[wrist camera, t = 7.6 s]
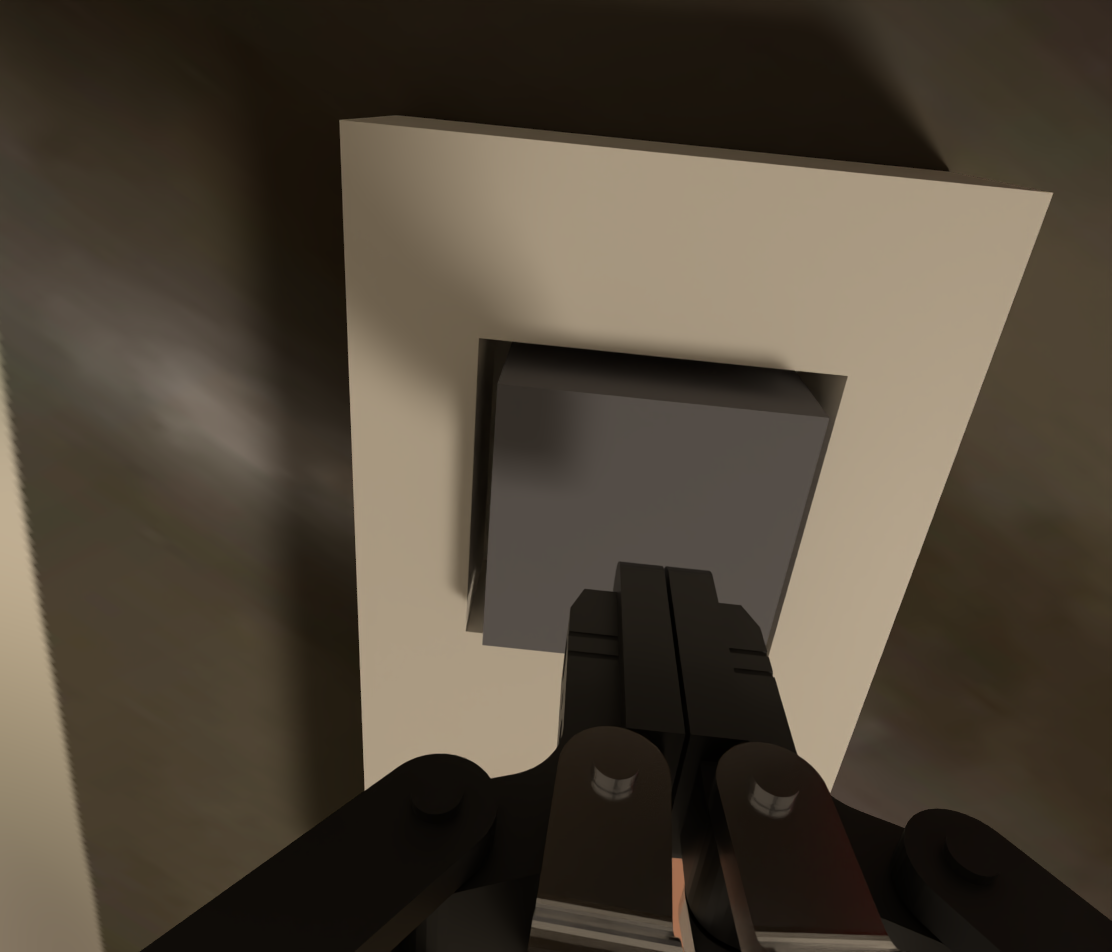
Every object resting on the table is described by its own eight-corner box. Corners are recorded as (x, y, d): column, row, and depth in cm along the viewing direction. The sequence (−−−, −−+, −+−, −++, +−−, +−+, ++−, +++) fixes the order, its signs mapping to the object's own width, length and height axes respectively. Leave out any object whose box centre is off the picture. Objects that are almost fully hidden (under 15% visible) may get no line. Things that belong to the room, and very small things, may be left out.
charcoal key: (513, 336, 16) (497, 383, 13) (790, 364, 16) (829, 418, 13) (498, 567, 19) (482, 645, 16) (735, 591, 19) (758, 673, 16)
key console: (396, 115, 16) (339, 120, 12) (951, 171, 16) (1053, 192, 12) (401, 884, 28) (372, 999, 24) (720, 918, 28) (739, 1038, 24)
